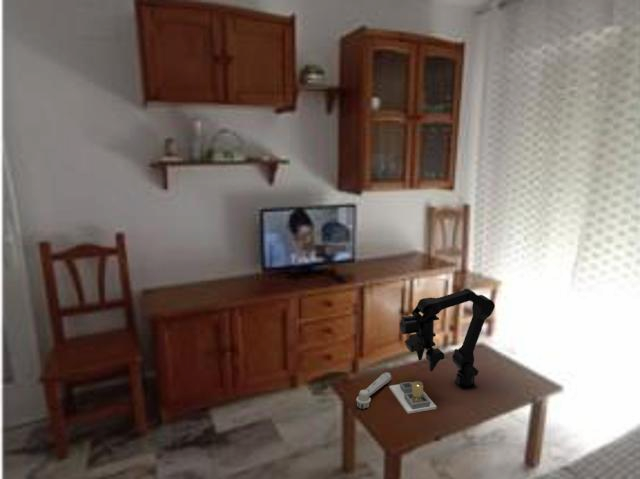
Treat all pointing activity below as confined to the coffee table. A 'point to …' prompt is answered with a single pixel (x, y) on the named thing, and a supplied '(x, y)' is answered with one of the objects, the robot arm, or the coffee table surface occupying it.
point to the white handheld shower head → (372, 390)
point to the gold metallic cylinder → (417, 392)
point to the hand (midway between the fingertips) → (425, 365)
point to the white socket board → (405, 398)
